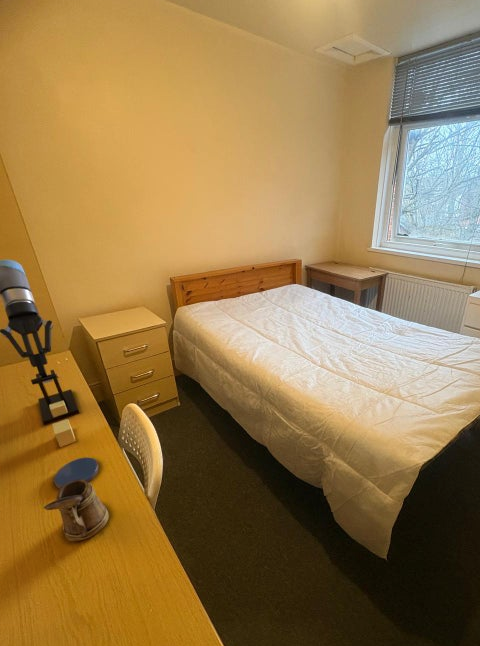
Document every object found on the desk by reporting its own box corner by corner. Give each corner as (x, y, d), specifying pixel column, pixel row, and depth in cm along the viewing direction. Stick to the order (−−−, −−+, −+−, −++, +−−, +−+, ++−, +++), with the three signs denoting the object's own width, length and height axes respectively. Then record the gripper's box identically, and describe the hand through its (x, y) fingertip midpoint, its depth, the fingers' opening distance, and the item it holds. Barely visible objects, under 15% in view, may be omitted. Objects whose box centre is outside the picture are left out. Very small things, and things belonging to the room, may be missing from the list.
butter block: (60, 447, 96) (54, 434, 94) (57, 436, 100) (52, 424, 98) (75, 441, 98) (70, 428, 96) (72, 431, 102) (67, 418, 100)
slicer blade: (57, 379, 97) (54, 371, 97) (33, 386, 94) (30, 378, 93) (59, 379, 110) (56, 372, 110) (37, 385, 107) (35, 378, 106)
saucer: (46, 489, 83) (44, 486, 82) (71, 460, 91) (69, 457, 91) (85, 490, 83) (83, 487, 82) (105, 460, 91) (104, 457, 91)
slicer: (79, 413, 110) (66, 379, 104) (44, 425, 104) (28, 390, 98) (72, 392, 121) (60, 360, 115) (39, 402, 115) (25, 369, 109)
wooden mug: (59, 568, 66) (25, 511, 57) (67, 515, 76) (39, 460, 68) (108, 549, 69) (83, 492, 61) (109, 500, 80) (88, 446, 72)
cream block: (67, 412, 108) (64, 405, 106) (53, 417, 106) (50, 409, 104) (66, 407, 110) (63, 400, 109) (52, 412, 108) (49, 404, 107)
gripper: (48, 308, 106) (70, 371, 102) (-3, 316, 99) (19, 385, 95) (43, 296, 100) (67, 364, 96) (-12, 305, 93) (11, 378, 89)
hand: (43, 374), depth 96 cm, fingers closed
